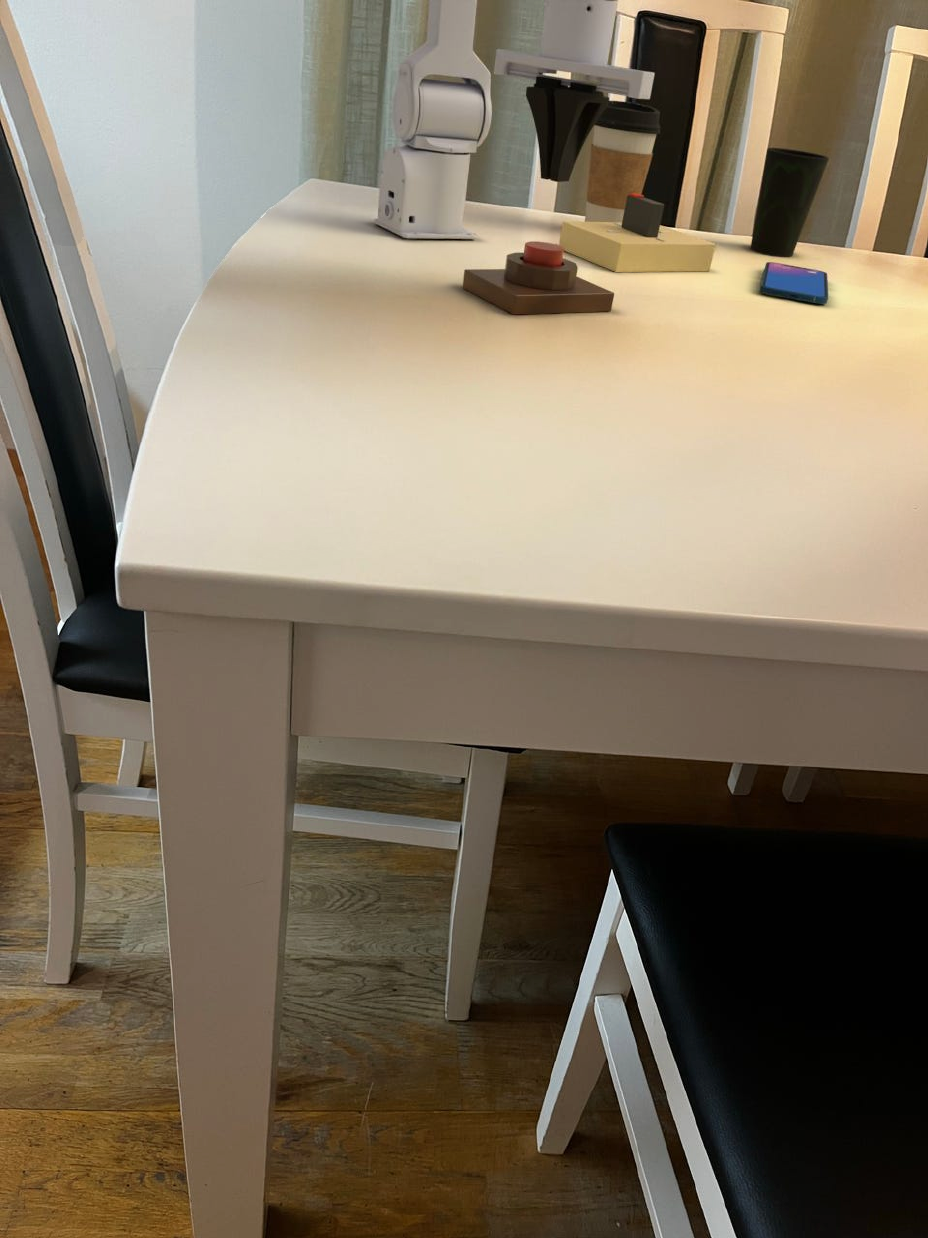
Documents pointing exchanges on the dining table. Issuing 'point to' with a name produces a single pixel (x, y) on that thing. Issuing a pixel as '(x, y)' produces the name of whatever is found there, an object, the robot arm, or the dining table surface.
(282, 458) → the dining table surface
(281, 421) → the dining table surface
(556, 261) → the button
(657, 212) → the dark grey rectangular block
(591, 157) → the coffee cup
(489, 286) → the button block
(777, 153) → the cup
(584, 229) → the panel
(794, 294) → the smartphone
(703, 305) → the dining table surface
